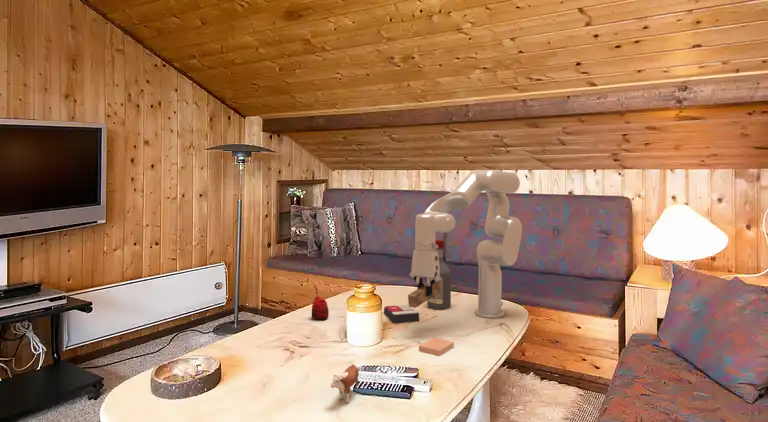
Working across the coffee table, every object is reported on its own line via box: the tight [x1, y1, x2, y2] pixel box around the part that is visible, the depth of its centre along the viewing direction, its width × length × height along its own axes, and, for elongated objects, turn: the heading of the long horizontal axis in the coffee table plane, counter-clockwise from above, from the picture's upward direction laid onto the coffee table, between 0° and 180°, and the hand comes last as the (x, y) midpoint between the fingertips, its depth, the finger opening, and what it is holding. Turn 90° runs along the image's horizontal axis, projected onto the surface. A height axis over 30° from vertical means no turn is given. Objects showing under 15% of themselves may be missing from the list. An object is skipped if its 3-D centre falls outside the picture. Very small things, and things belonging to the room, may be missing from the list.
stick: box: [407, 281, 440, 309], centre depth 194 cm, size 18×3×4 cm, turn 144°
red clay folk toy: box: [311, 284, 330, 321], centre depth 212 cm, size 8×7×15 cm
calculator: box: [383, 304, 420, 324], centre depth 214 cm, size 11×4×15 cm
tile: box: [418, 337, 455, 357], centre depth 177 cm, size 2×8×10 cm
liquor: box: [426, 239, 452, 311], centre depth 228 cm, size 9×9×30 cm
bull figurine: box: [330, 364, 360, 404], centre depth 140 cm, size 4×13×8 cm, turn 159°
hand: (424, 294), depth 194 cm, fingers closed on stick, 3 cm apart
